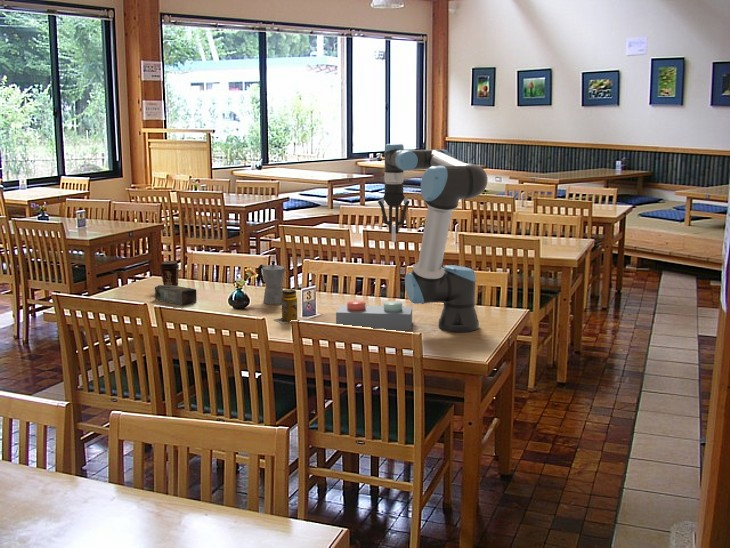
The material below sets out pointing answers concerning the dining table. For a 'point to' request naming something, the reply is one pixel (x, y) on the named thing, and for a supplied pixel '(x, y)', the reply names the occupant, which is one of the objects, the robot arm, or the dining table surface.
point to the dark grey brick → (175, 294)
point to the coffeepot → (272, 282)
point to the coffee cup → (169, 272)
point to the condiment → (288, 306)
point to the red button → (356, 305)
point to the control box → (375, 317)
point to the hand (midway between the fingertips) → (393, 241)
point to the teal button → (392, 306)
